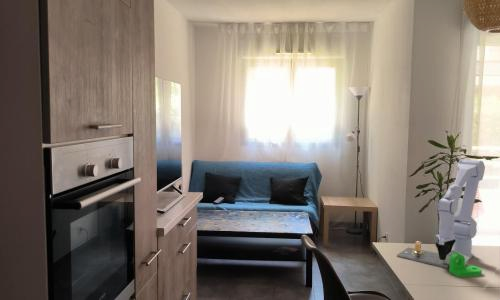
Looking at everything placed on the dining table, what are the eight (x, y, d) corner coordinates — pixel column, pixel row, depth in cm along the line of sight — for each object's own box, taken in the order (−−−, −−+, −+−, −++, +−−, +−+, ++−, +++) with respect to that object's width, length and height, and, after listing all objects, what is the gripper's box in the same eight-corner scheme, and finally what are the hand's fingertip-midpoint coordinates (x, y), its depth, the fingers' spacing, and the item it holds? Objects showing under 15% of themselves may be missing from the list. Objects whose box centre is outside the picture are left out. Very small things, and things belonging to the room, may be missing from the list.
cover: (449, 256, 192) (452, 249, 191) (466, 264, 188) (469, 257, 187) (444, 262, 185) (447, 254, 184) (461, 270, 181) (464, 262, 180)
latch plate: (407, 249, 207) (408, 246, 207) (456, 259, 194) (457, 256, 194) (396, 257, 196) (396, 254, 195) (448, 268, 182) (448, 265, 182)
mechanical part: (459, 277, 173) (460, 258, 172) (449, 272, 178) (450, 253, 178) (485, 275, 176) (486, 256, 175) (473, 270, 181) (474, 251, 181)
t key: (414, 254, 196) (414, 244, 195) (415, 250, 202) (416, 240, 201) (419, 255, 195) (420, 245, 194) (421, 251, 201) (421, 241, 200)
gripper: (441, 222, 196) (439, 251, 197) (431, 228, 185) (430, 259, 186) (458, 224, 192) (456, 254, 193) (449, 231, 181) (447, 263, 182)
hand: (444, 257), depth 189 cm, fingers open, 7 cm apart
